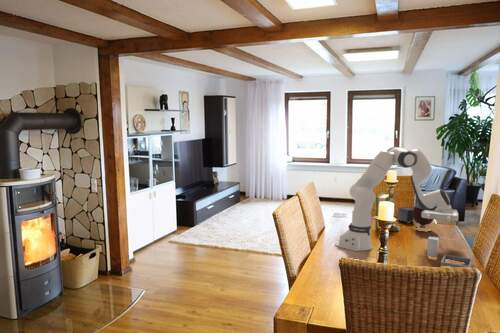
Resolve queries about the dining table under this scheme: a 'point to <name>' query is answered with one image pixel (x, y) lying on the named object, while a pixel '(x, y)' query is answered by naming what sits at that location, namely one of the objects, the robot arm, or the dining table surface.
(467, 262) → the tray
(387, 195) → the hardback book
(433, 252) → the metal block
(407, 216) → the small box
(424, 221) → the mate gourd
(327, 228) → the dining table surface
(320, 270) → the dining table surface
